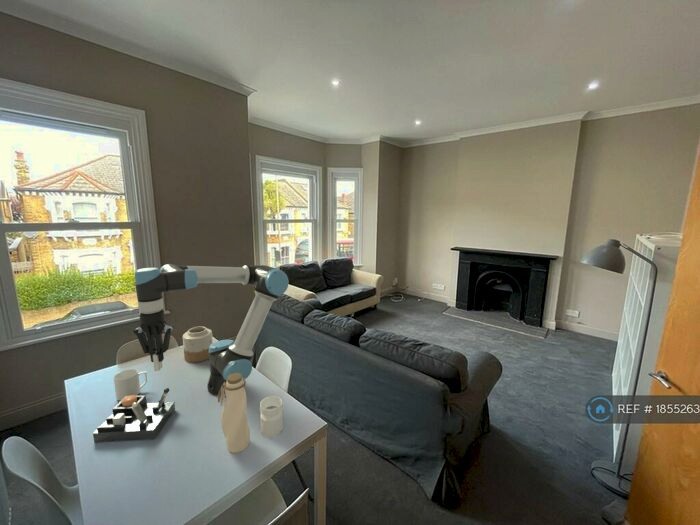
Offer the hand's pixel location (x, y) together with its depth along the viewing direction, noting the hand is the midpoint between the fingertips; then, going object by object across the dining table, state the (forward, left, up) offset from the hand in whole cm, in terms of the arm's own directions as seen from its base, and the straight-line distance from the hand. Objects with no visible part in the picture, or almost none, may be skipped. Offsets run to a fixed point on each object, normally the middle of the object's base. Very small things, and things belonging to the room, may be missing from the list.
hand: (158, 368), depth 108 cm
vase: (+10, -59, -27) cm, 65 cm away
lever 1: (+6, +1, -21) cm, 22 cm away
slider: (+15, +1, -22) cm, 27 cm away
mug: (+26, -24, -27) cm, 44 cm away
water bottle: (-30, +10, -27) cm, 41 cm away
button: (+17, -8, -22) cm, 28 cm away
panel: (+12, -3, -26) cm, 29 cm away
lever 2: (+5, -8, -21) cm, 23 cm away
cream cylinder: (-42, +3, -27) cm, 50 cm away
